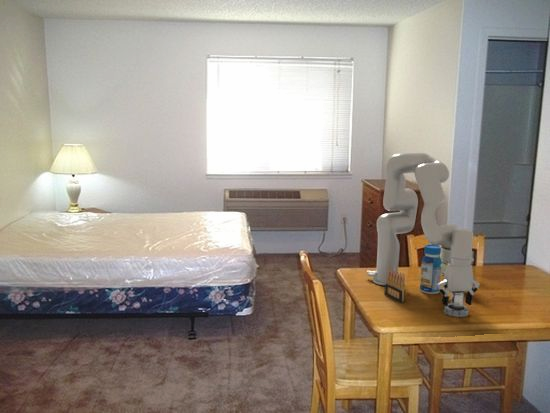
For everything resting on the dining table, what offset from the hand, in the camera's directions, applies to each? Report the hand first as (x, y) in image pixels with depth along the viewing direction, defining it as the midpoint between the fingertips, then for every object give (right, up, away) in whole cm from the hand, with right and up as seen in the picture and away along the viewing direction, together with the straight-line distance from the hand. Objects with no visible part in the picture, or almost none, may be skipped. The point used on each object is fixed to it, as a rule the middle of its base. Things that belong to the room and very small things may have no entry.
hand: (456, 304), depth 195 cm
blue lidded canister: (-3, +1, +25) cm, 25 cm away
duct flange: (0, -3, +1) cm, 3 cm away
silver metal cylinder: (0, -3, 0) cm, 3 cm away
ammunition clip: (-20, -1, +15) cm, 25 cm away
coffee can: (+14, +5, +49) cm, 51 cm away
